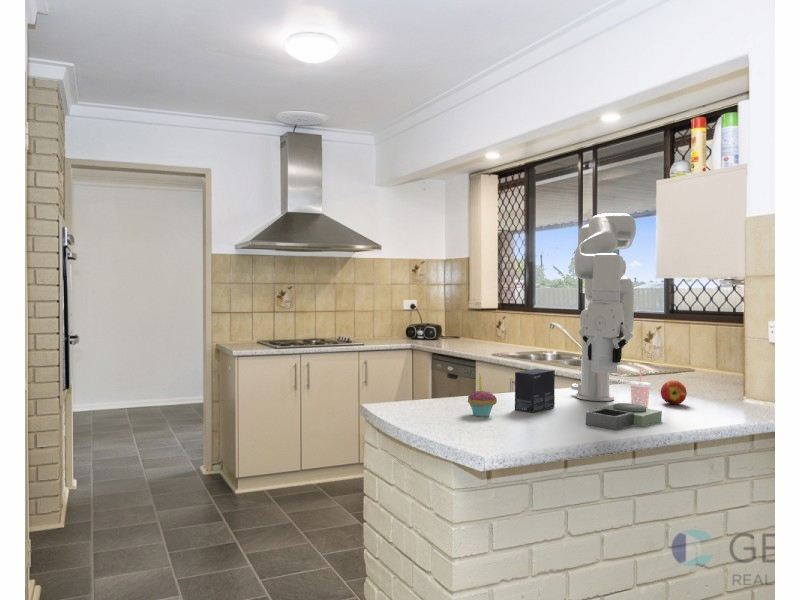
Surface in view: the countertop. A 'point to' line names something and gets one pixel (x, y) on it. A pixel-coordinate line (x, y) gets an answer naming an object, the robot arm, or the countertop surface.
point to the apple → (673, 392)
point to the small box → (534, 390)
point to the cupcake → (481, 401)
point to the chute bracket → (610, 418)
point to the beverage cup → (640, 392)
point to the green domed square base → (638, 413)
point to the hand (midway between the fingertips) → (604, 360)
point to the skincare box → (602, 354)
